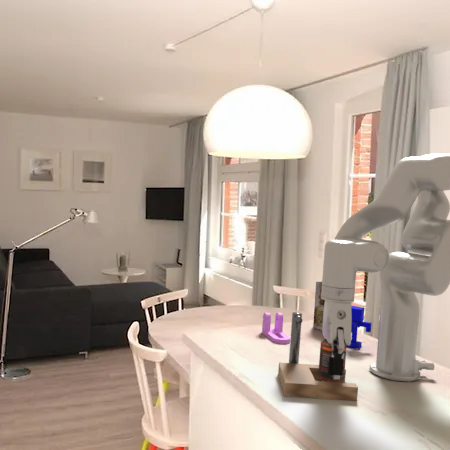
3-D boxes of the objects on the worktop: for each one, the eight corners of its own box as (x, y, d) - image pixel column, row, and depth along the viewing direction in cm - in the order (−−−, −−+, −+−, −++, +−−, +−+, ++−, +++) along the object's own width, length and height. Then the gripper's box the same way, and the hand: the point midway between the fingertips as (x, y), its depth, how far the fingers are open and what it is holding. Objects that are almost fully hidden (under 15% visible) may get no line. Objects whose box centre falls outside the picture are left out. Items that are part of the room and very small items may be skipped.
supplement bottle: (344, 385, 117) (348, 336, 116) (317, 382, 118) (321, 333, 117) (343, 377, 122) (347, 330, 122) (318, 373, 124) (321, 327, 123)
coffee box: (344, 332, 173) (348, 285, 172) (329, 334, 170) (333, 285, 169) (326, 325, 181) (329, 280, 180) (312, 327, 178) (315, 280, 177)
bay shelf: (342, 378, 127) (343, 366, 127) (357, 400, 113) (358, 387, 113) (278, 374, 127) (279, 362, 127) (284, 396, 113) (285, 382, 113)
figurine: (349, 350, 152) (352, 310, 151) (336, 343, 159) (338, 305, 158) (371, 349, 154) (374, 310, 154) (357, 342, 161) (359, 304, 161)
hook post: (299, 369, 132) (304, 311, 131) (303, 378, 125) (308, 317, 124) (284, 368, 132) (288, 310, 131) (287, 377, 125) (291, 316, 124)
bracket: (261, 332, 167) (263, 311, 166) (278, 332, 168) (279, 311, 168) (275, 344, 154) (276, 321, 154) (292, 344, 155) (294, 321, 155)
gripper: (363, 302, 110) (357, 384, 111) (345, 287, 128) (340, 359, 129) (329, 299, 110) (323, 382, 111) (315, 285, 128) (310, 357, 129)
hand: (332, 369), depth 120 cm, fingers closed on supplement bottle, 5 cm apart
